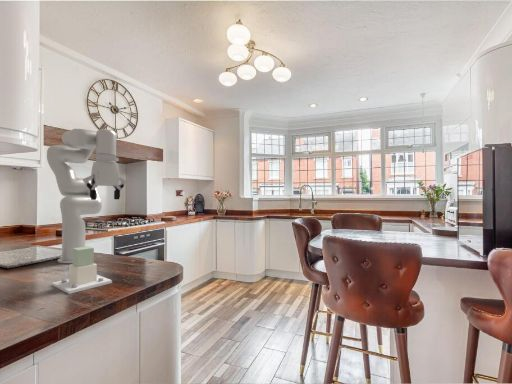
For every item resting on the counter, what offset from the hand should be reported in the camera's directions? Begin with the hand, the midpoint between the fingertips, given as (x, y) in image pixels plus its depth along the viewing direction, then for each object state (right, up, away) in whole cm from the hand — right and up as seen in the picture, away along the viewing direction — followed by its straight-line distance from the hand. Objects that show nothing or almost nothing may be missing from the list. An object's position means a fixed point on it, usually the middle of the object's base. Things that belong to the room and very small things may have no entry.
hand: (105, 199), depth 116 cm
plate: (+1, -30, -17) cm, 35 cm away
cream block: (+1, -29, -17) cm, 34 cm away
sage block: (+1, -23, -17) cm, 29 cm away
